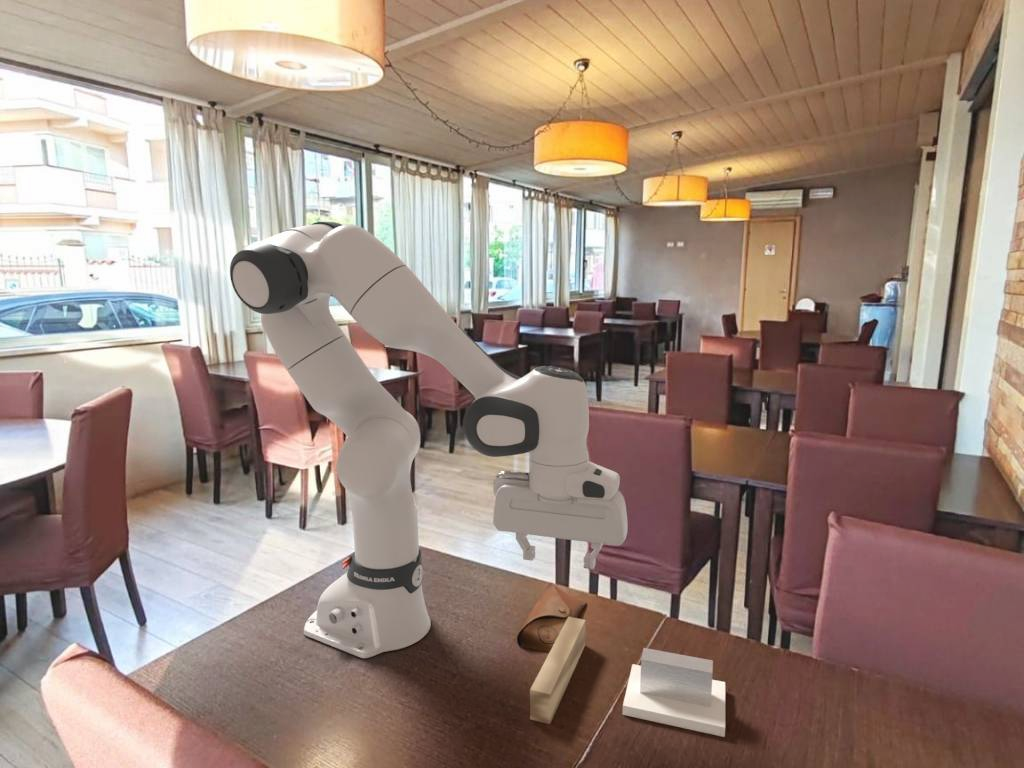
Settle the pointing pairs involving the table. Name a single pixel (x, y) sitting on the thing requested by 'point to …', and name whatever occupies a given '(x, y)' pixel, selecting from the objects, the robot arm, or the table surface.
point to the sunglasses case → (548, 618)
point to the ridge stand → (676, 692)
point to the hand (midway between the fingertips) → (558, 562)
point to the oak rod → (557, 671)
